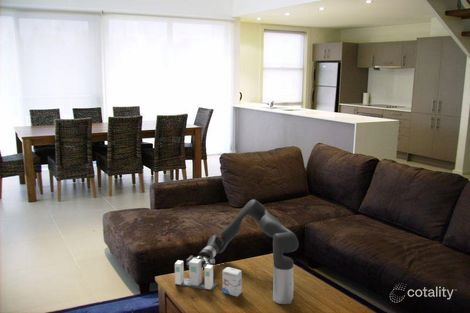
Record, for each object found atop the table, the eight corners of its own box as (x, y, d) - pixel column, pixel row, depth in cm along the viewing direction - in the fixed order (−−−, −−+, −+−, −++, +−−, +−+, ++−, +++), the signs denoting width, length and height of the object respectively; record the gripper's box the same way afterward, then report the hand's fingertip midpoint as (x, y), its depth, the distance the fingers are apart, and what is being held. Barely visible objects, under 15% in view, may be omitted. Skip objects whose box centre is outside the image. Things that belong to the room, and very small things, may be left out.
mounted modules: (213, 285, 217) (213, 265, 215) (210, 289, 214) (210, 268, 212) (178, 280, 223) (178, 260, 221) (175, 283, 219) (174, 263, 217)
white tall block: (201, 281, 222) (201, 259, 220) (197, 285, 217) (197, 263, 215) (193, 280, 223) (193, 258, 221) (189, 284, 218) (189, 262, 216)
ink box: (221, 292, 213) (221, 270, 210) (226, 288, 217) (226, 266, 215) (237, 297, 209) (237, 274, 206) (241, 292, 213) (242, 270, 211)
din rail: (216, 284, 220) (216, 283, 220) (212, 290, 215) (212, 288, 215) (180, 279, 226) (180, 277, 226) (175, 284, 221) (175, 282, 220)
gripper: (194, 246, 236) (182, 258, 220) (219, 250, 231) (208, 262, 216) (194, 259, 237) (182, 272, 222) (219, 263, 233) (208, 276, 218)
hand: (195, 267), depth 219 cm, fingers open, 8 cm apart
